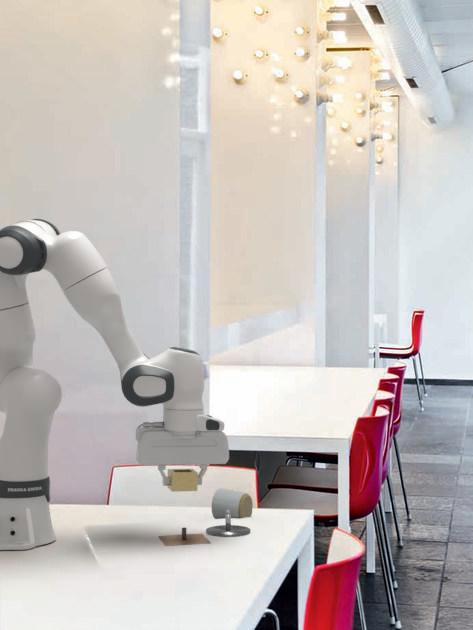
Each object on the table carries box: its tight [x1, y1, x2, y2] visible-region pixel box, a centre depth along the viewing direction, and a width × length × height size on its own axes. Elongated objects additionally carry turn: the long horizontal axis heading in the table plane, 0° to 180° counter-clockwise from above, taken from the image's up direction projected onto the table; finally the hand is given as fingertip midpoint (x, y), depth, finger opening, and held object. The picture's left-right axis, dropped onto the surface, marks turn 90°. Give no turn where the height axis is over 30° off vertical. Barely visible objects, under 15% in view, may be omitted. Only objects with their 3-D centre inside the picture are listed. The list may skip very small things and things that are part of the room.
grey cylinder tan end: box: [211, 487, 253, 520], centre depth 271 cm, size 11×8×8 cm
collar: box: [166, 468, 199, 493], centre depth 242 cm, size 6×6×4 cm
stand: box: [157, 527, 212, 547], centre depth 242 cm, size 10×10×4 cm
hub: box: [205, 510, 251, 538], centre depth 250 cm, size 10×10×6 cm
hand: (182, 485), depth 242 cm, fingers closed on collar, 6 cm apart
